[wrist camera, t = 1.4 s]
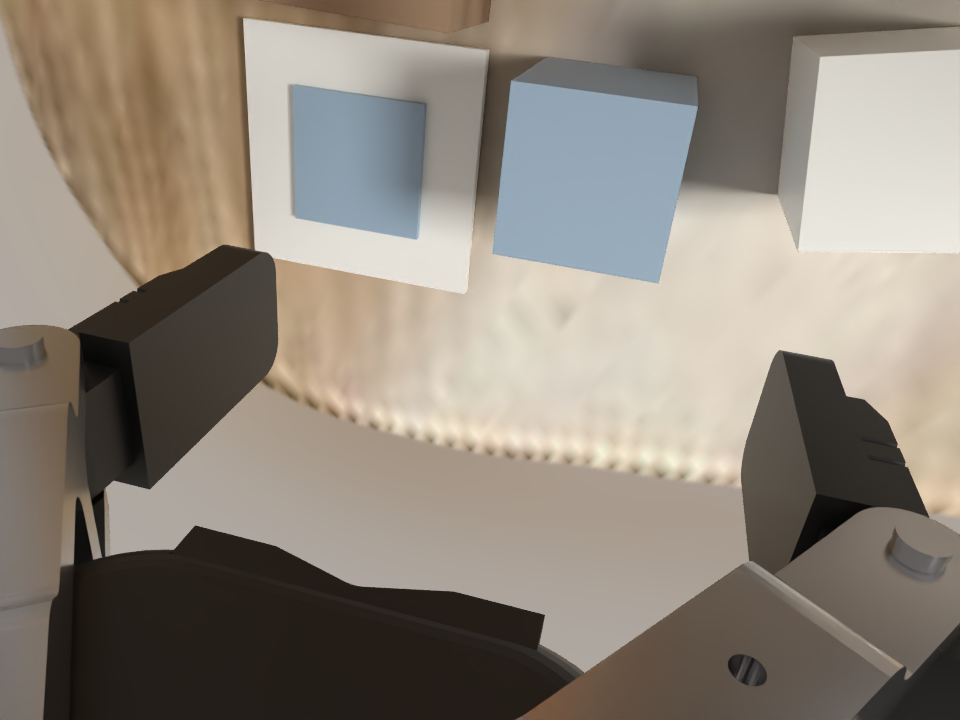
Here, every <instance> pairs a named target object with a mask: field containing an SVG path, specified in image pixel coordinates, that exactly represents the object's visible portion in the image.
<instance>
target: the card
mask: <svg viewBox="0 0 960 720" xmlns="http://www.w3.org/2000/svg"><path fill="white" fill-rule="evenodd" d="M243 25H244V44H245V64H246V84H247V103H248V123H249V142H250V162H251V182H252V201H253V221H254V240H255V250H256V251H262V252H267V253H269V254H270V255H271V256H272V258H276V259H281V260H287V261H292V262H297V263H303V264H308V265H313V266H318V267H324V268H329V269H334V270H340V271H345V272H350V273H356V274H361V275H366V276H371V277H377V278H382V279H387V280H393V281H398V282H403V283H408V284H414V285H419V286H424V287H430V288H435V289H440V290H445V291H451V292H456V293H461V294H465V293H466V291H467V287H468V276H469V265H470V255H471V244H472V233H473V223H474V212H475V201H476V190H477V180H478V169H479V158H480V148H481V137H482V126H483V116H484V105H485V94H486V83H487V73H488V62H489V51H490V49H483V48H476V47H468V46H461V45H453V44H446V43H438V42H431V41H423V40H415V39H408V38H400V37H393V36H385V35H378V34H370V33H363V32H355V31H347V30H340V29H332V28H325V27H317V26H310V25H302V24H295V23H287V22H279V21H272V20H264V19H257V18H249V17H248V18H243Z"/></svg>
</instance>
